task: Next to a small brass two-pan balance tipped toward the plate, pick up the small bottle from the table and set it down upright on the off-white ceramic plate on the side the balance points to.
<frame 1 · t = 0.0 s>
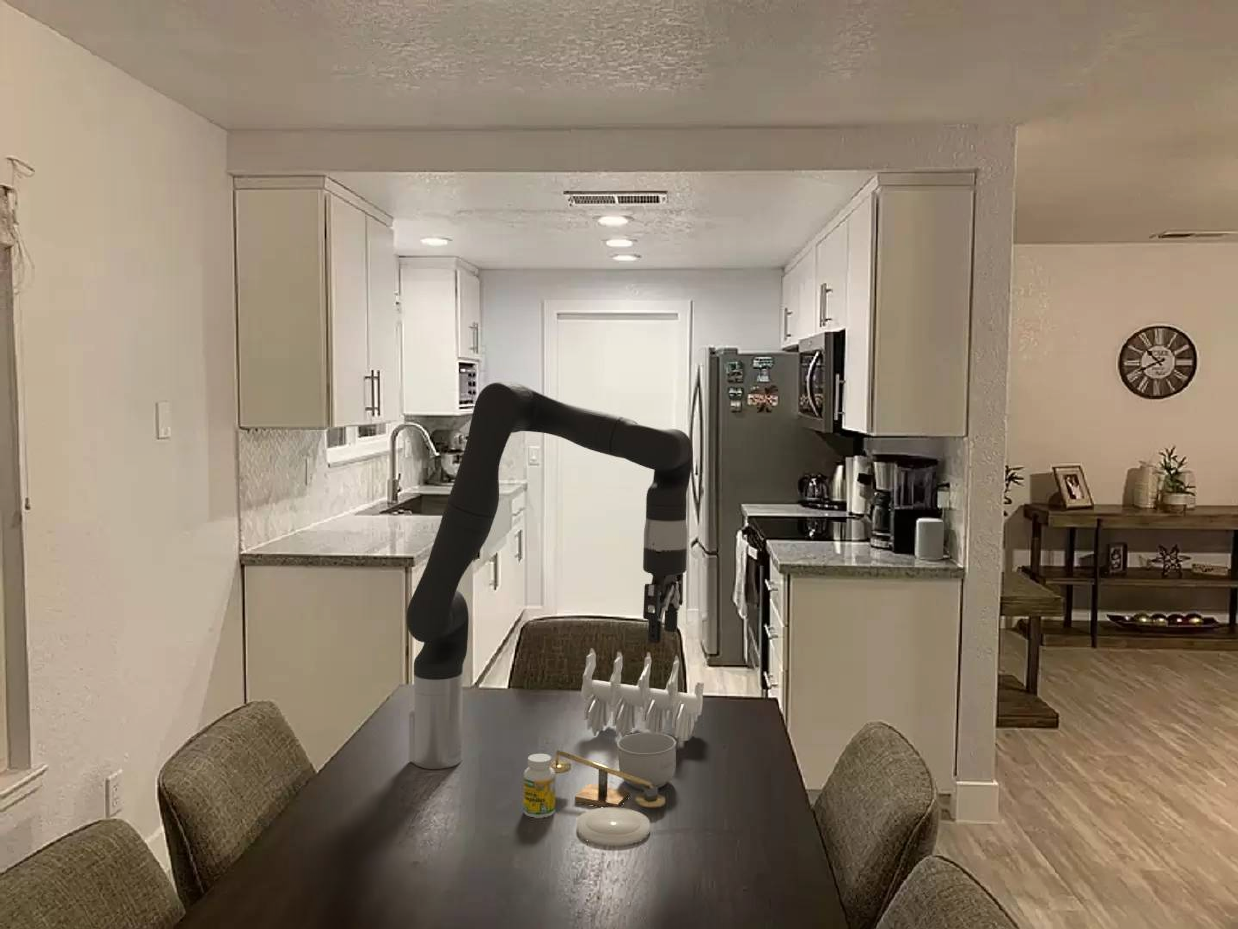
hand: (662, 637, 174), 29 cm above the table, tool pointing down, fingers open, 8 cm apart
teacup: (647, 781, 185), on the table
spiral staircase: (640, 738, 208), on the table
balance: (602, 800, 176), on the table
plate: (613, 829, 164), on the table
supplement bottle: (538, 813, 170), on the table
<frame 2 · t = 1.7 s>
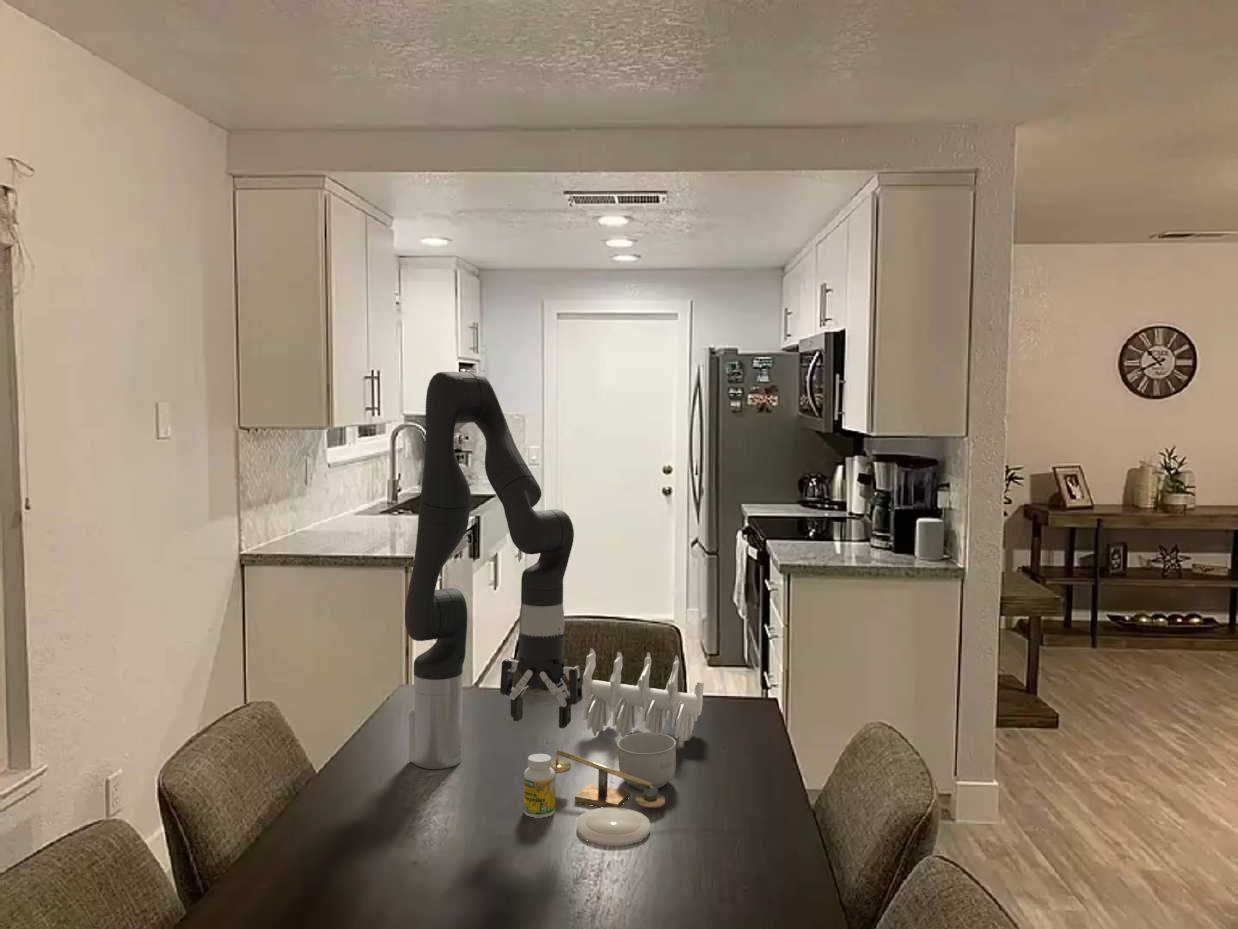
hand: (540, 723, 169), 16 cm above the table, tool pointing down, fingers open, 8 cm apart
nothing on the table moved.
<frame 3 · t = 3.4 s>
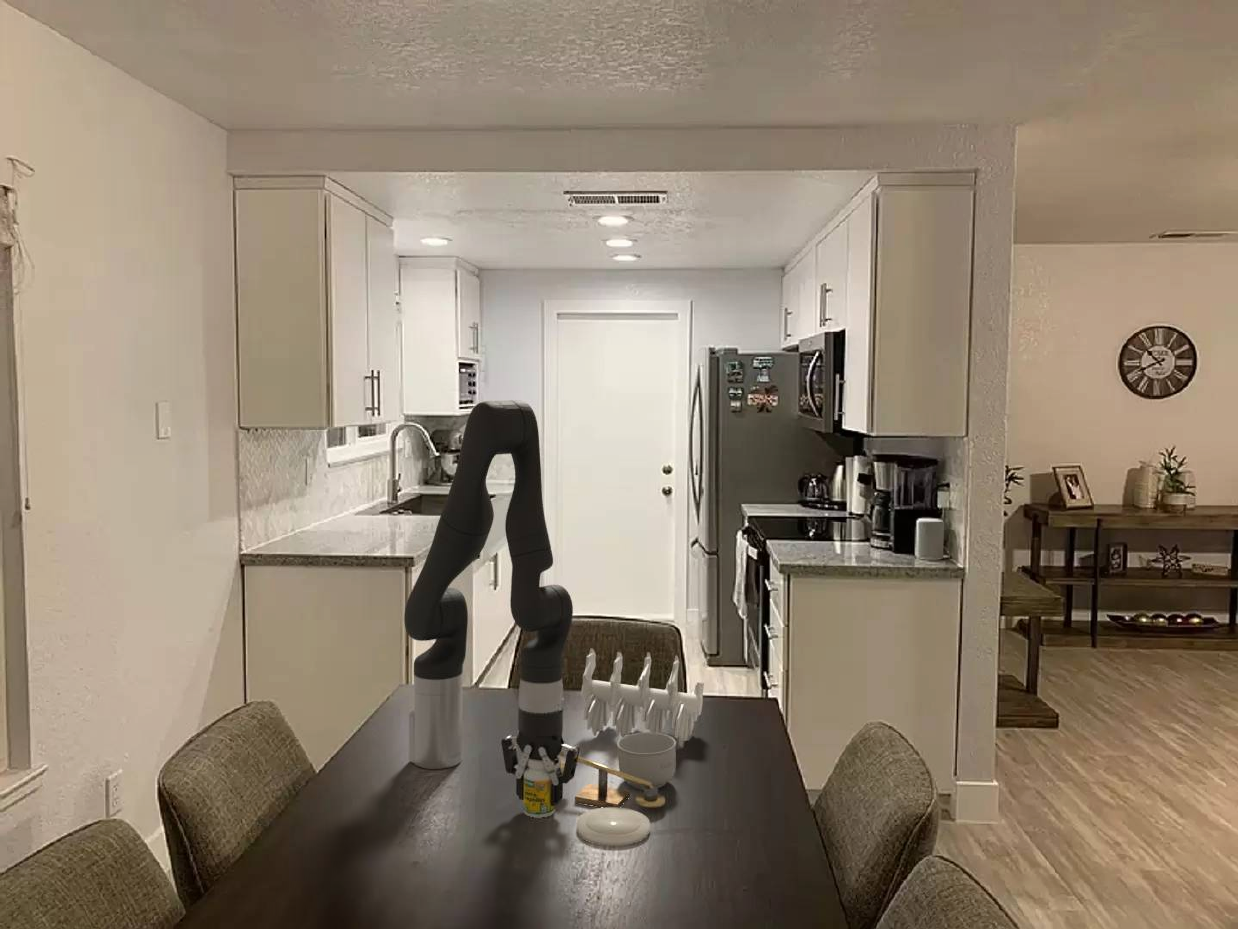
hand: (539, 801, 170), 2 cm above the table, tool pointing down, fingers closed on supplement bottle, 5 cm apart
supplement bottle: (538, 813, 170), on the table, touching gripper
everything else where it was.
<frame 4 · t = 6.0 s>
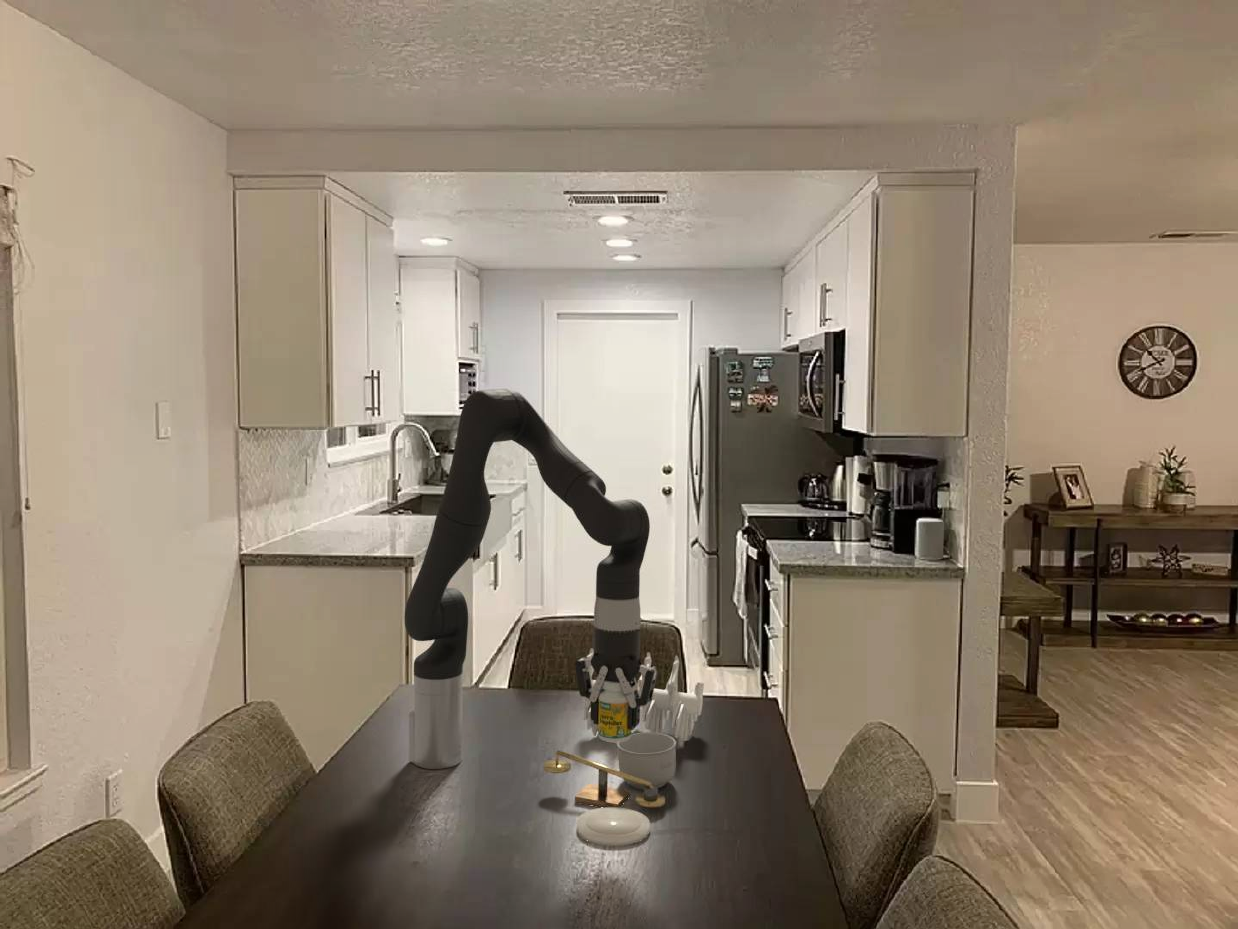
hand: (614, 725, 163), 18 cm above the table, tool pointing down, fingers closed on supplement bottle, 5 cm apart
supplement bottle: (614, 738, 163), point 15 cm above the table, touching gripper
everything else where it was.
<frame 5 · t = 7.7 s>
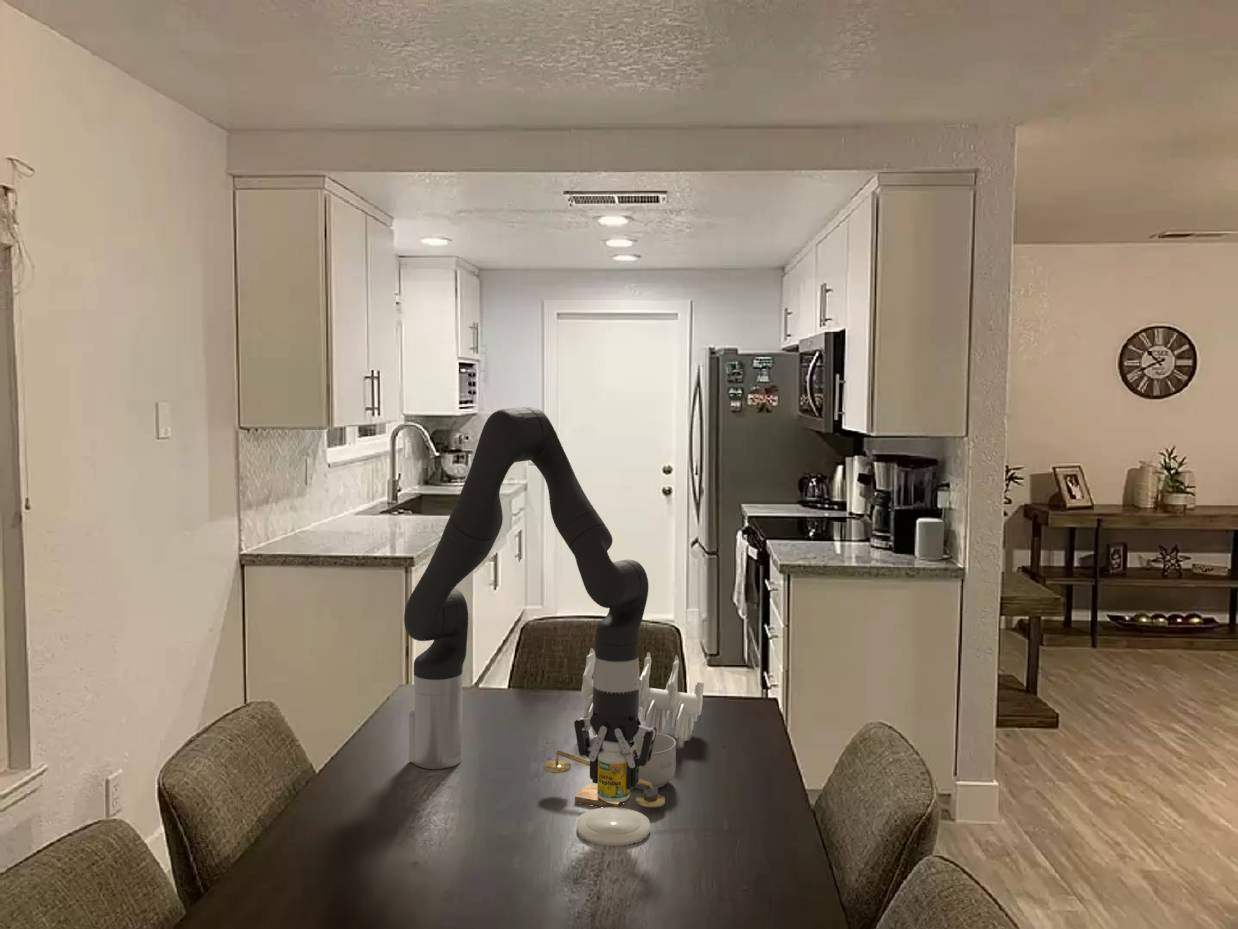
hand: (613, 784, 164), 8 cm above the table, tool pointing down, fingers closed on supplement bottle, 5 cm apart
supplement bottle: (613, 797, 164), point 5 cm above the table, touching gripper
everything else where it was.
when the fingers open (4 cm above the table, at t = 8.9 s): supplement bottle stays where it is, resting on plate.
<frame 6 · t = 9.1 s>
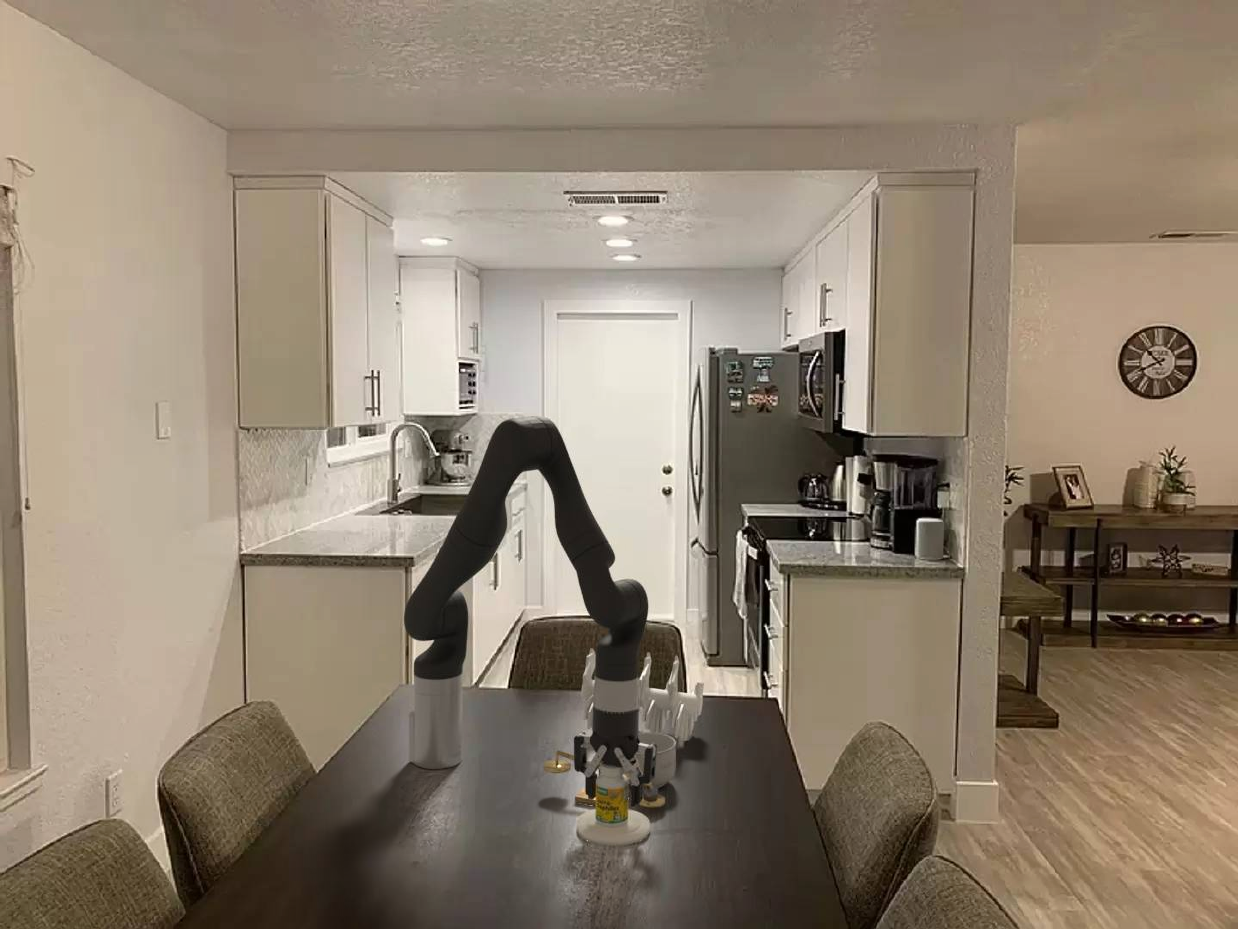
hand: (613, 801, 164), 5 cm above the table, tool pointing down, fingers open, 7 cm apart
supplement bottle: (611, 822, 164), point 1 cm above the table, touching plate
everything else where it was.
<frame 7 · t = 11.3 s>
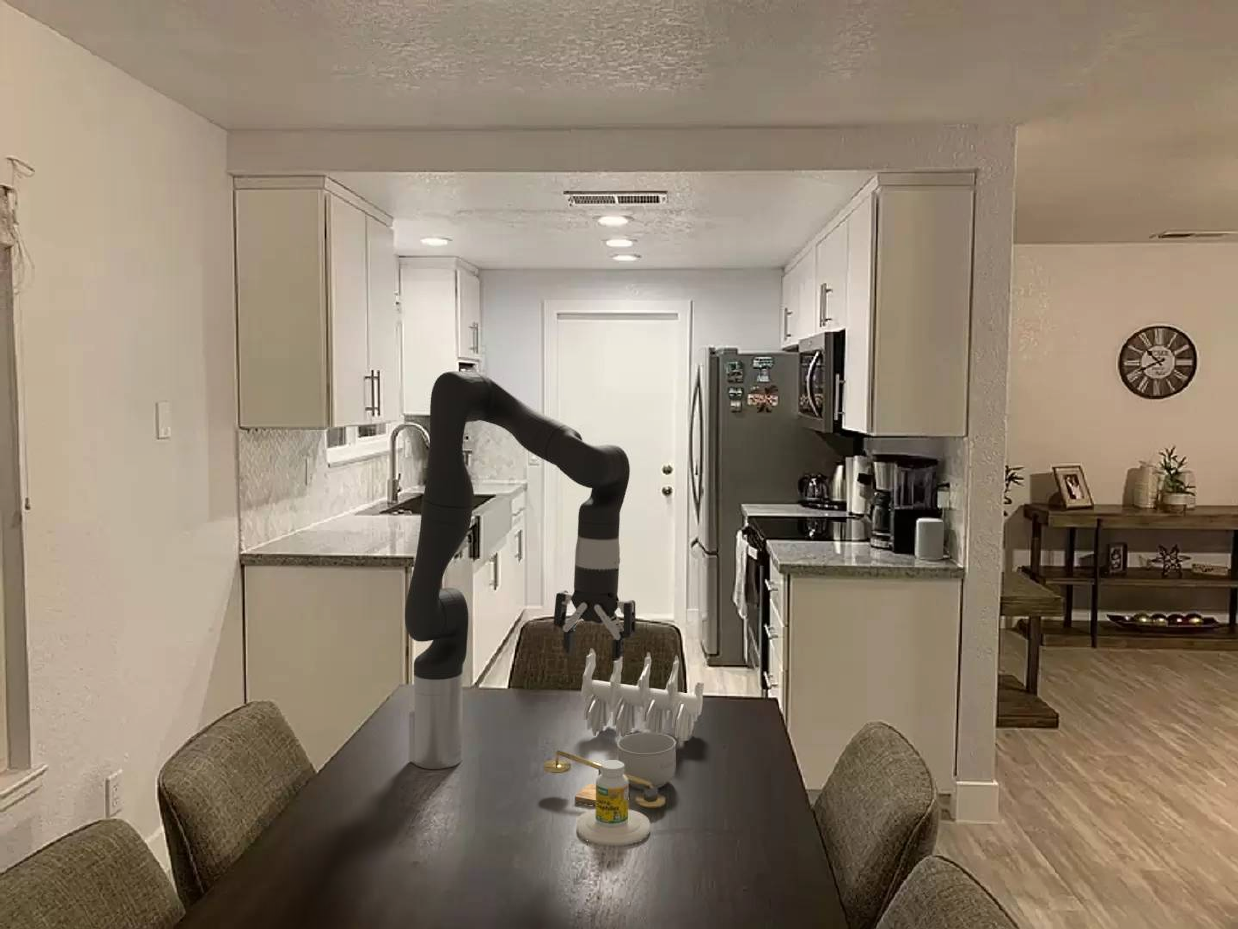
hand: (592, 656, 171), 27 cm above the table, tool pointing down, fingers open, 8 cm apart
nothing on the table moved.
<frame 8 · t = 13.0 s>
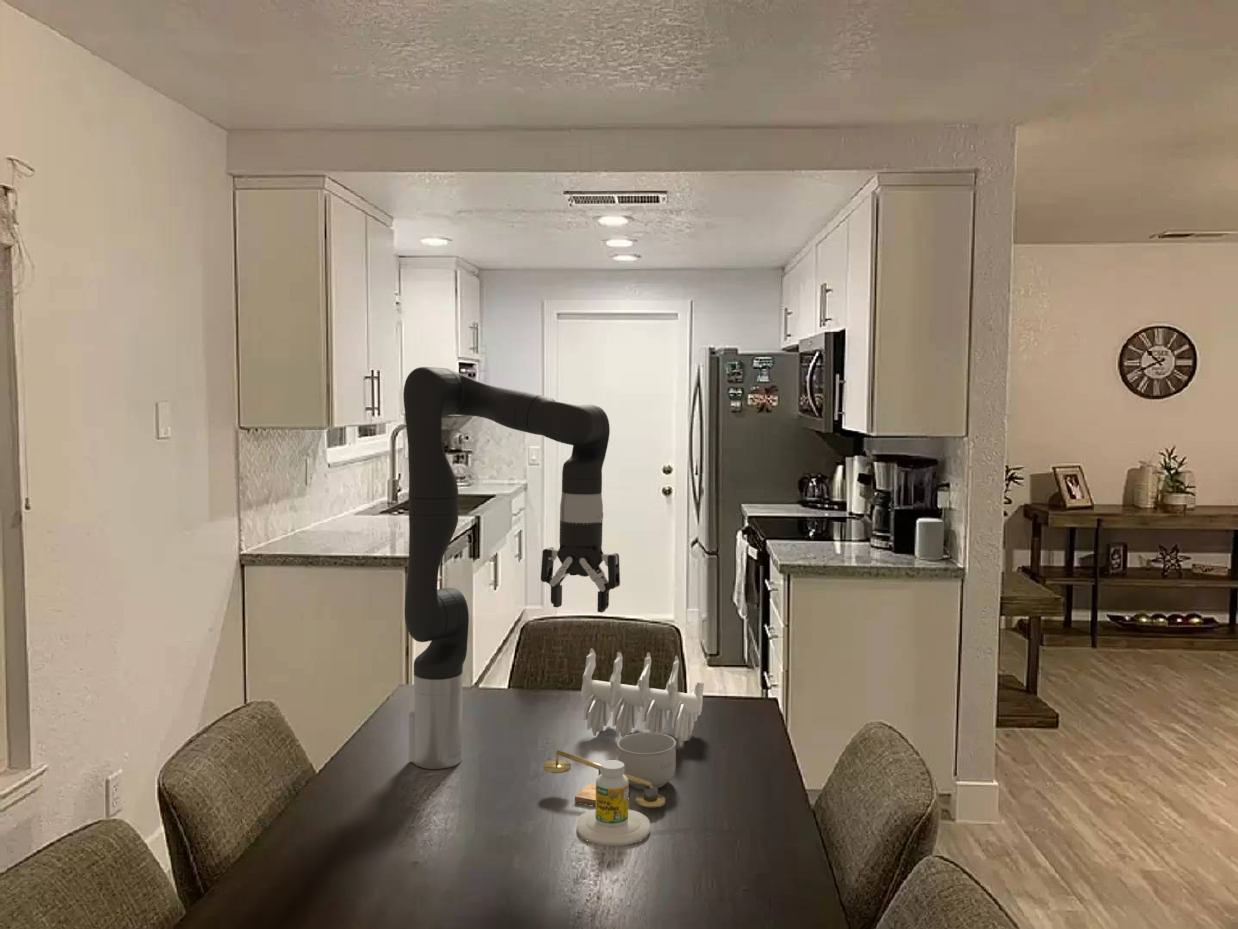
hand: (579, 609, 177), 33 cm above the table, tool pointing down, fingers open, 8 cm apart
nothing on the table moved.
at the end: supplement bottle 0.3 cm from the plate (horizontally); supplement bottle touching plate; the gripper is holding nothing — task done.
